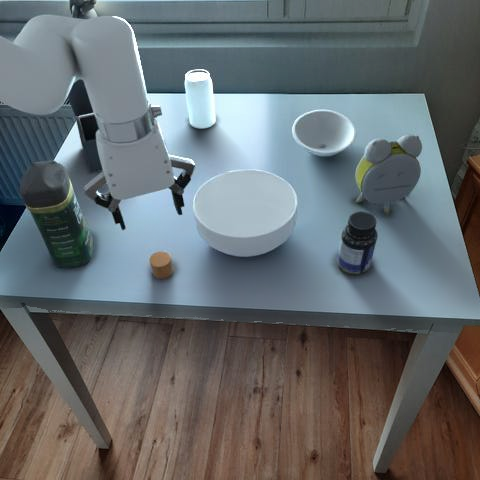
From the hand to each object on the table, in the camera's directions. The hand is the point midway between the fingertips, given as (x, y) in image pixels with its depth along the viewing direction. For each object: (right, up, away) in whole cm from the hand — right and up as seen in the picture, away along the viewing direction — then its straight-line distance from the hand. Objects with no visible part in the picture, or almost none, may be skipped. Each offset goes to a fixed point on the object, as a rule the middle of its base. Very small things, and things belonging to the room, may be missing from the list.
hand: (150, 217), depth 79 cm
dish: (+34, +23, +32) cm, 52 cm away
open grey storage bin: (-16, +23, +34) cm, 44 cm away
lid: (-17, +33, +25) cm, 45 cm away
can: (+6, +33, +41) cm, 53 cm away
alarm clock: (+44, +6, +19) cm, 49 cm away
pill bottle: (+36, -7, +9) cm, 38 cm away
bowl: (+16, 0, +16) cm, 22 cm away
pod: (+1, -8, +10) cm, 13 cm away
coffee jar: (-18, -4, +15) cm, 23 cm away
